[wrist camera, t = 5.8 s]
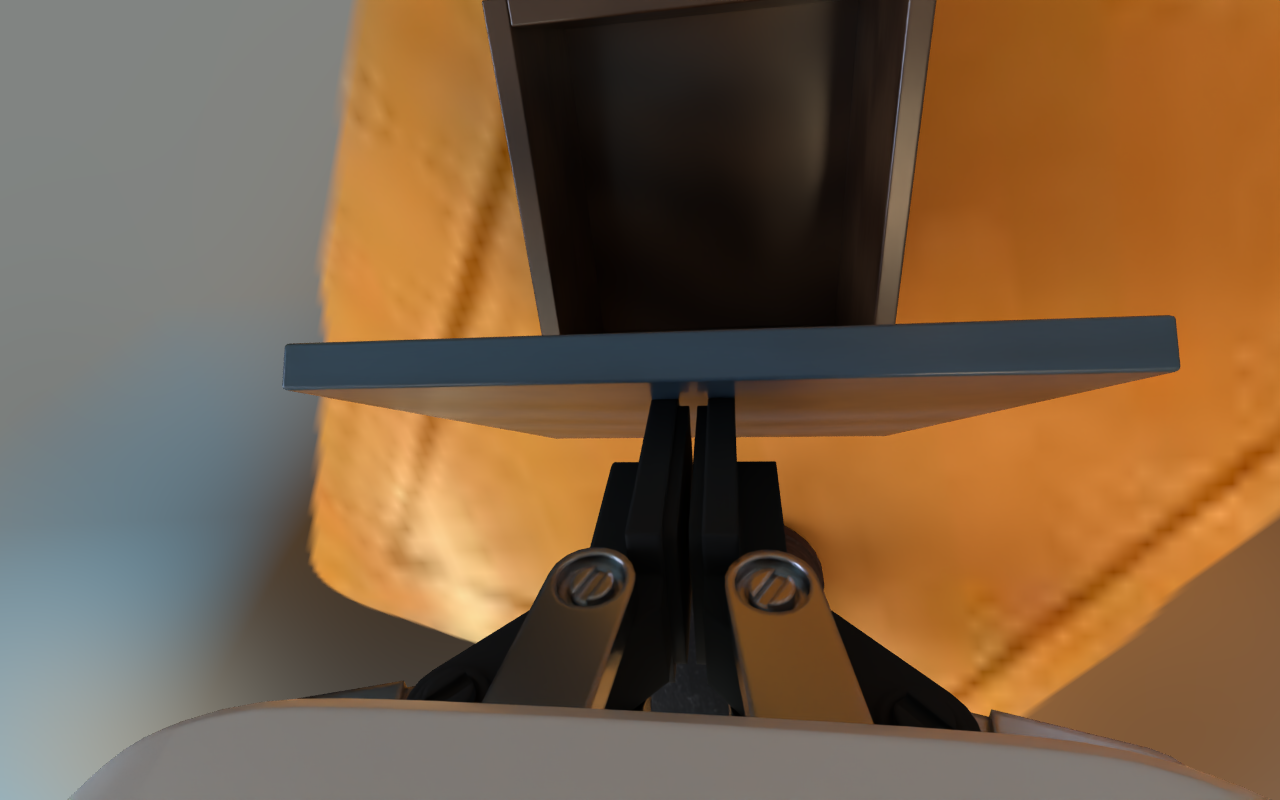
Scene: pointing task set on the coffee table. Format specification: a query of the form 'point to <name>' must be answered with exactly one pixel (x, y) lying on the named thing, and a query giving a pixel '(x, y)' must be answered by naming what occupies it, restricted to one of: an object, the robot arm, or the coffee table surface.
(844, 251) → the brown box
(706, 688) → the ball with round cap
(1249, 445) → the coffee table surface
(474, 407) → the blue-grey square panel
